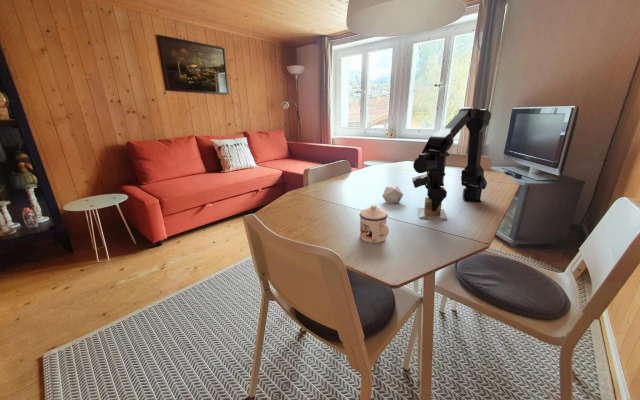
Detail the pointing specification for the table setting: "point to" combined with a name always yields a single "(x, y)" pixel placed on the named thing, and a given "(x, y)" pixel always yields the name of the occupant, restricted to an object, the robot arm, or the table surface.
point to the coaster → (423, 216)
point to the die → (392, 195)
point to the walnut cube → (429, 208)
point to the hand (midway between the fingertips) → (432, 207)
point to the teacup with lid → (373, 225)
